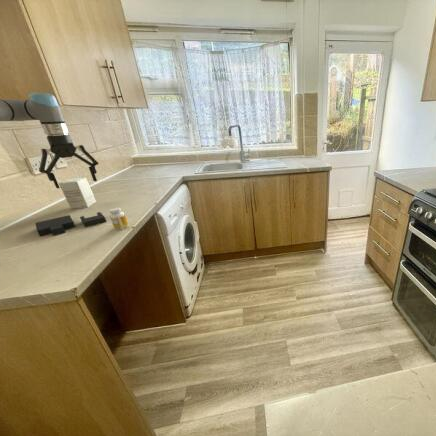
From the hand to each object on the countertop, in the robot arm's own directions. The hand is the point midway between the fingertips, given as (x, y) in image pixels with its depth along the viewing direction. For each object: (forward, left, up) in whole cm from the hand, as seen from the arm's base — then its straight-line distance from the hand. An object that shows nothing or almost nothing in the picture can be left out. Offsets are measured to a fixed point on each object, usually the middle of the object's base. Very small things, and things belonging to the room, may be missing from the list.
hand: (77, 184), depth 110 cm
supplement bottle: (+22, +7, -19) cm, 30 cm away
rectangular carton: (-31, +1, -19) cm, 36 cm away
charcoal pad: (-1, -13, -19) cm, 22 cm away
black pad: (+3, 0, -19) cm, 19 cm away
